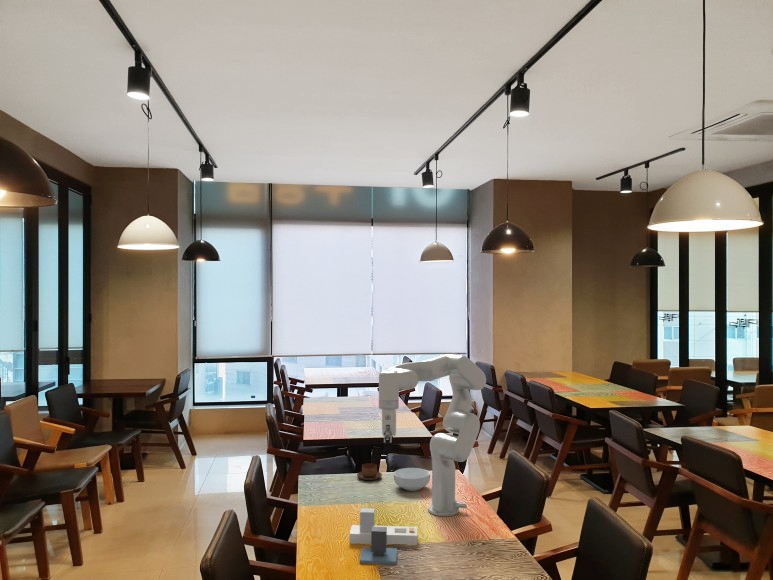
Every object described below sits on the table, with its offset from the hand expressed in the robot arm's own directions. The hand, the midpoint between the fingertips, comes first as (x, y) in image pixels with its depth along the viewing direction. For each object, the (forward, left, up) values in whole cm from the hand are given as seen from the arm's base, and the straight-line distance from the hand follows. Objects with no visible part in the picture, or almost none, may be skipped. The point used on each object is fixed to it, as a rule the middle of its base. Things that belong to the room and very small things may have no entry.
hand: (388, 449), depth 218 cm
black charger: (+2, +22, -29) cm, 37 cm away
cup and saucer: (+12, -63, -31) cm, 71 cm away
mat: (+2, +22, -30) cm, 37 cm away
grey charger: (+7, +8, -28) cm, 30 cm away
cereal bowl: (-9, -50, -31) cm, 59 cm away
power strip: (+1, +8, -30) cm, 31 cm away
